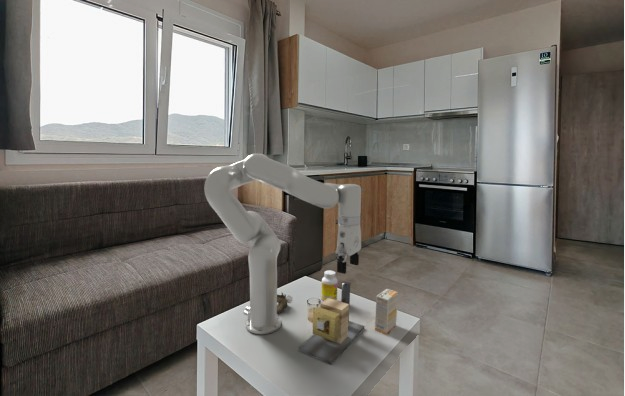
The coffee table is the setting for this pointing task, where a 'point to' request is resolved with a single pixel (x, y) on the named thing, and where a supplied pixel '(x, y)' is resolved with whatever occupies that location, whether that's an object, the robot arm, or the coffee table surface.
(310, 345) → the block
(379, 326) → the supplement box
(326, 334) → the yellow square frame
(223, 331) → the coffee table surface
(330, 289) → the supplement bottle
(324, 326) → the crank handle
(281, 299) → the eagle figurine
